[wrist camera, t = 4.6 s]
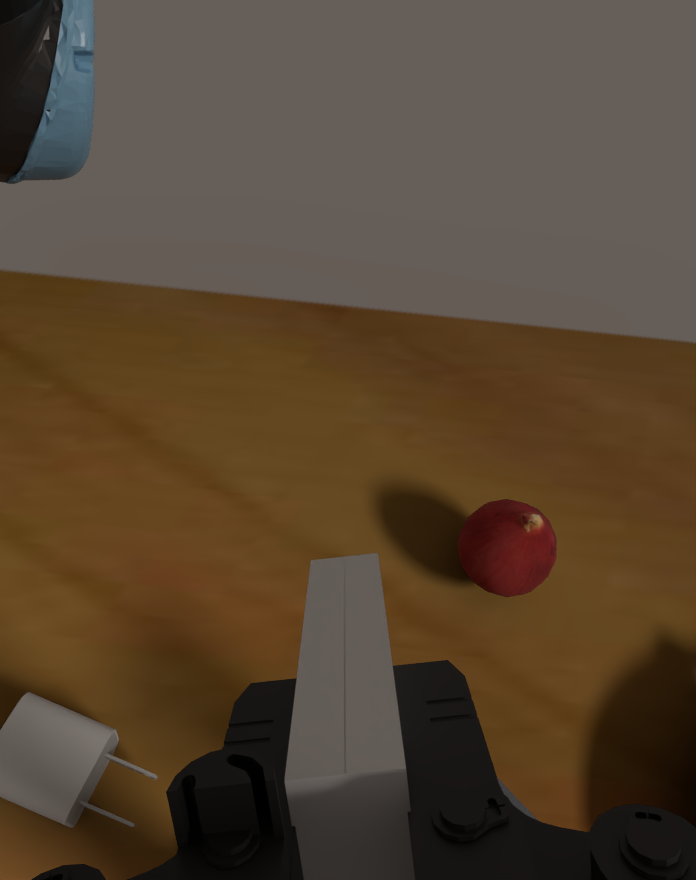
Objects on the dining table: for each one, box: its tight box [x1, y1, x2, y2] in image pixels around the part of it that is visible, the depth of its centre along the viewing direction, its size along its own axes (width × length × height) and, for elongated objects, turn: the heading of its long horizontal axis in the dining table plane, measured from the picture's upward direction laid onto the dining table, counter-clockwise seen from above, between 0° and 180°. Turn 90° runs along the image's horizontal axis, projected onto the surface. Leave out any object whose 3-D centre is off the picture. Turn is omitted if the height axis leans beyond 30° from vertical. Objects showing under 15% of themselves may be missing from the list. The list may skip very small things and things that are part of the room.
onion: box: [458, 499, 556, 597], centre depth 39 cm, size 6×6×8 cm
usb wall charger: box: [0, 692, 157, 828], centre depth 29 cm, size 4×7×4 cm, turn 71°
